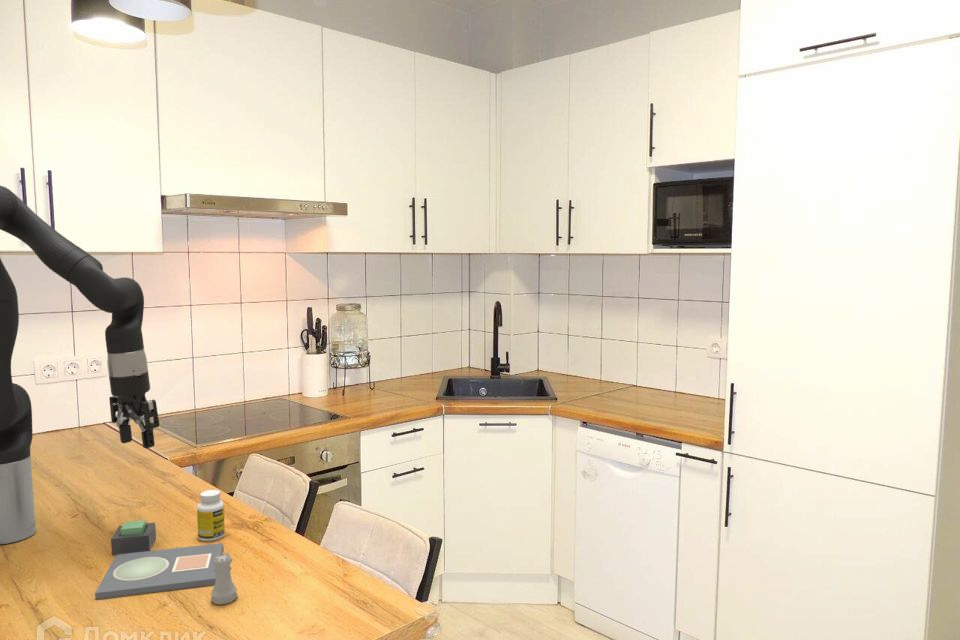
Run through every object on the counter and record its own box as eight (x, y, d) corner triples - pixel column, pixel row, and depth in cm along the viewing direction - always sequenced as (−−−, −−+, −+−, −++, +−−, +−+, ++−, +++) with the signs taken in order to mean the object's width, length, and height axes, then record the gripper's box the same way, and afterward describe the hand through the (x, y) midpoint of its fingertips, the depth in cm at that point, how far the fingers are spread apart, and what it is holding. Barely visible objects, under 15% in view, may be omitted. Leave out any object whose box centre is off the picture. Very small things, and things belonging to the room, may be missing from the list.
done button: (121, 540, 140) (120, 529, 140) (125, 532, 144) (124, 521, 144) (142, 538, 141) (141, 527, 141) (146, 530, 145) (145, 519, 145)
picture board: (95, 599, 121) (94, 592, 121) (117, 560, 136) (116, 553, 136) (215, 584, 126) (215, 577, 126) (223, 548, 142) (223, 542, 142)
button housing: (111, 555, 138) (110, 539, 138) (120, 541, 145) (119, 525, 145) (149, 551, 140) (148, 535, 140) (155, 538, 147) (155, 522, 147)
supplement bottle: (215, 543, 145) (213, 498, 144) (192, 540, 146) (190, 496, 145) (230, 532, 150) (228, 489, 149) (207, 530, 151) (206, 487, 150)
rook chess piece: (215, 593, 123) (213, 550, 122) (240, 592, 124) (238, 550, 123) (207, 606, 119) (205, 562, 118) (233, 605, 119) (232, 561, 118)
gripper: (93, 373, 147) (102, 445, 149) (130, 377, 139) (140, 454, 141) (126, 366, 153) (135, 436, 155) (164, 370, 145) (173, 443, 147)
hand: (137, 444), depth 148 cm, fingers open, 8 cm apart
